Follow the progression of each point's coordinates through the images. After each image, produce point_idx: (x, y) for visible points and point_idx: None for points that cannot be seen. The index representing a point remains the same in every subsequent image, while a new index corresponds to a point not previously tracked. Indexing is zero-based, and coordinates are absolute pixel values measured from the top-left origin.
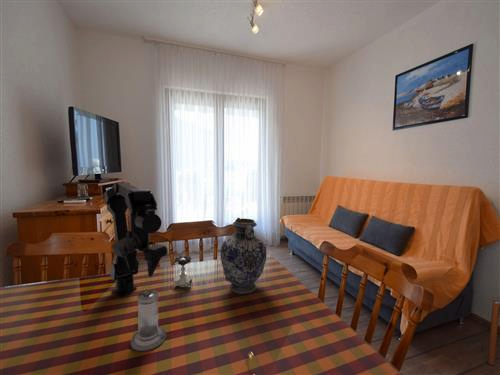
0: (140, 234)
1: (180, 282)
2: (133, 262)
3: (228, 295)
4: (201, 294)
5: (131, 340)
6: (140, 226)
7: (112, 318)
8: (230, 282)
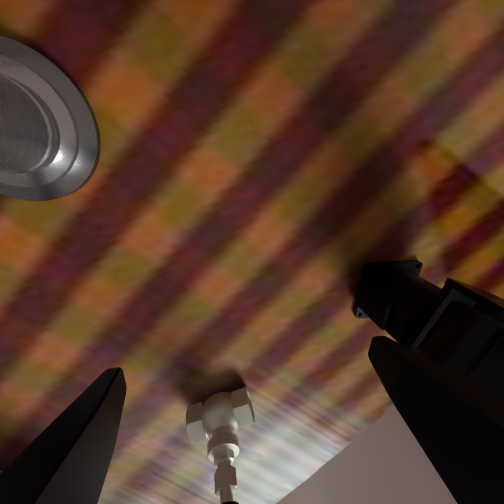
0: None
1: (217, 410)
2: (422, 428)
3: None
4: None
5: (57, 70)
6: None
7: (286, 157)
8: None
